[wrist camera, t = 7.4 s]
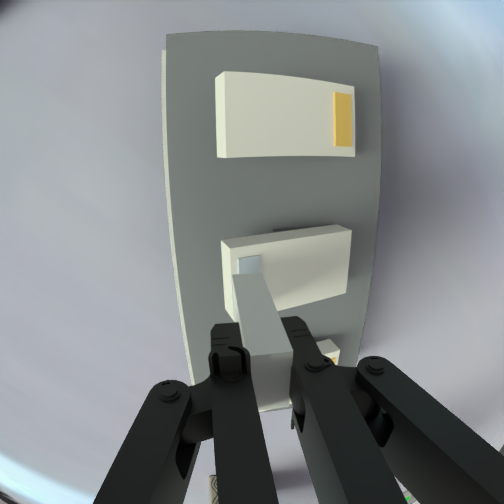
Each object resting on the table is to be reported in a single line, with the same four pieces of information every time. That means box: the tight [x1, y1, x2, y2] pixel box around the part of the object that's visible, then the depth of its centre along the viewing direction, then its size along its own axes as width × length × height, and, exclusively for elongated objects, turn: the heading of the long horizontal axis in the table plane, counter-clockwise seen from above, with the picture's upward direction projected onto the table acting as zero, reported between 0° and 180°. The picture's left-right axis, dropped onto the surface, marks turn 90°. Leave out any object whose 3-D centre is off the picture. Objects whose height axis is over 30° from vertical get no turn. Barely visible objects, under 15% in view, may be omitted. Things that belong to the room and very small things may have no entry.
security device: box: [403, 490, 416, 504], centre depth 59 cm, size 17×22×2 cm
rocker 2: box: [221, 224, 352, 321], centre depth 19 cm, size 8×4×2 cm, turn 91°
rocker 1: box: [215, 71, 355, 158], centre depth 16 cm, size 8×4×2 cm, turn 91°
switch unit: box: [162, 31, 382, 413], centre depth 23 cm, size 15×30×7 cm, turn 1°
